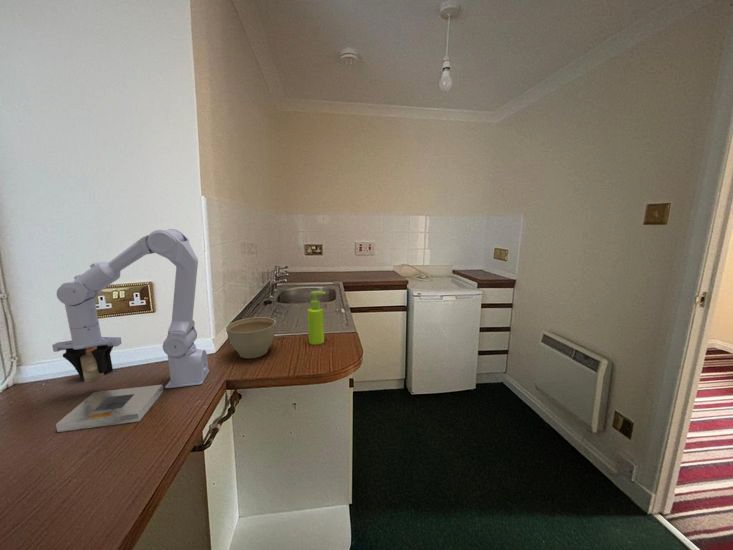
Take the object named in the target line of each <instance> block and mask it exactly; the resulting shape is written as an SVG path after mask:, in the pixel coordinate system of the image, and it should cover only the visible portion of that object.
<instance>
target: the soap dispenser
mask: <svg viewBox="0 0 733 550" xmlns="http://www.w3.org/2000/svg"><path fill="white" fill-rule="evenodd" d="M325 294H326V292H325V291H322V290H321V291H320V290H318V291H317V290H314V291H310V295H312V299H311V300H310V308H308V309H307V324H308V325H307V327H308V344H310V345H314V346H315V345H318V346H319V345H321V344H323V343H324V342H325V328H324V327H325V325H324V324H325V323H324V322H325V321H324V308H323V307H321V305H320V303H321V302H320V301H321V300H320V299H319V298H318V295H325Z"/></svg>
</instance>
